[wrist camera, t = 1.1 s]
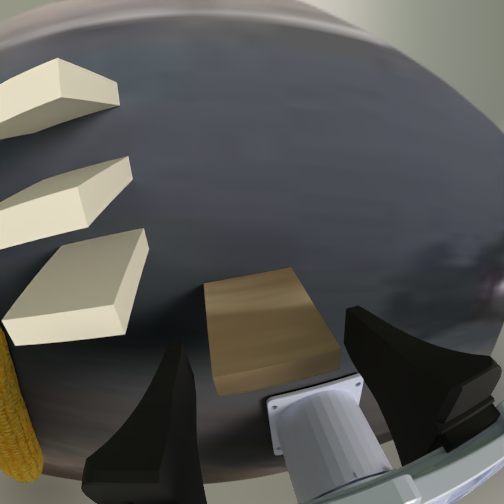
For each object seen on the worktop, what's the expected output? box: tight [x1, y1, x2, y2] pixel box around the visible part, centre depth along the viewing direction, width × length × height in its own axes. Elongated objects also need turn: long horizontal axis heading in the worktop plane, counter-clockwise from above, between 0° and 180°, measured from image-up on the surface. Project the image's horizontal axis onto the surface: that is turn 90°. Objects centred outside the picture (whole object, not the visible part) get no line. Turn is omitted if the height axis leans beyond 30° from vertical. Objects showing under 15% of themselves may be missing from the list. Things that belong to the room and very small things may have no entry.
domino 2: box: [0, 156, 133, 249], centre depth 11 cm, size 1×5×7 cm, turn 96°
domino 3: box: [2, 228, 149, 346], centre depth 12 cm, size 1×5×7 cm, turn 97°
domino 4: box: [204, 267, 341, 397], centre depth 15 cm, size 1×5×7 cm, turn 97°
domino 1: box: [0, 58, 120, 139], centre depth 9 cm, size 1×5×7 cm, turn 97°
